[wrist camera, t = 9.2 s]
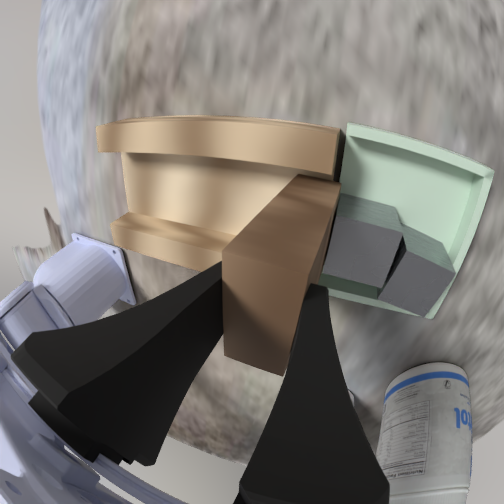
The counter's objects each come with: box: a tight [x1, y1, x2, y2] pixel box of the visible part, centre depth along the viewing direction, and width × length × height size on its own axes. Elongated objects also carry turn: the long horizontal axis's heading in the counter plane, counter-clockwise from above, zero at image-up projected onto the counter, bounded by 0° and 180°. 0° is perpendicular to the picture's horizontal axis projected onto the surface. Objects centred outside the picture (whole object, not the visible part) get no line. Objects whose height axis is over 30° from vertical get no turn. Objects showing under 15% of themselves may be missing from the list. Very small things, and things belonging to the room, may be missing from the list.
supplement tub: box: [376, 362, 472, 504], centre depth 16 cm, size 10×10×15 cm
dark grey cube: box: [377, 223, 456, 317], centre depth 14 cm, size 4×4×4 cm
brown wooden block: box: [222, 174, 342, 376], centre depth 12 cm, size 2×5×9 cm, turn 176°
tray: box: [318, 122, 494, 319], centre depth 15 cm, size 9×11×2 cm
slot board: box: [96, 115, 340, 272], centre depth 17 cm, size 16×10×3 cm, turn 86°
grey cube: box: [323, 193, 403, 288], centre depth 15 cm, size 4×4×4 cm
